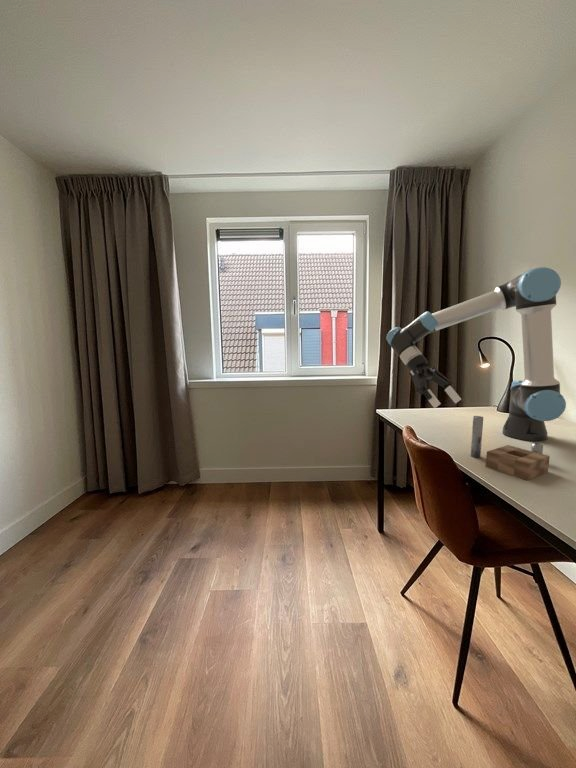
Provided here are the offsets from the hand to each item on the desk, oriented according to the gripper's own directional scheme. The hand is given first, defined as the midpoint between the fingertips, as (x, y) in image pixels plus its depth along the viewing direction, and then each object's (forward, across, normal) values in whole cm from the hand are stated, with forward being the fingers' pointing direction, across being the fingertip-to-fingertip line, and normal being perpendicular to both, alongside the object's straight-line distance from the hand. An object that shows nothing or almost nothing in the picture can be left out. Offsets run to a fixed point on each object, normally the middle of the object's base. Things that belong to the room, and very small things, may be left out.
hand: (448, 403), depth 121 cm
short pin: (+29, -11, +6) cm, 32 cm away
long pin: (+20, 0, -4) cm, 20 cm away
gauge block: (+29, +1, +5) cm, 29 cm away
